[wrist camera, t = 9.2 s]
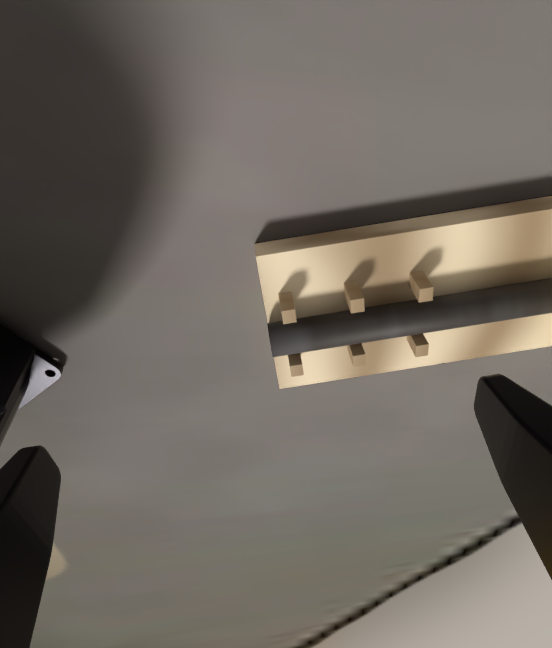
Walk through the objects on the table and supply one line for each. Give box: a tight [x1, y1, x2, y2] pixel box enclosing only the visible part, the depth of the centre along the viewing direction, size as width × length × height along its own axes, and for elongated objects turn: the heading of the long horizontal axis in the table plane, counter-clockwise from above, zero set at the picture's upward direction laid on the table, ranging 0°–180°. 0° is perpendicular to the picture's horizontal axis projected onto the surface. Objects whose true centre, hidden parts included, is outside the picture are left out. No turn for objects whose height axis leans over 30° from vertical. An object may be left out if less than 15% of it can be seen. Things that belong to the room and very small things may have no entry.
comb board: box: [255, 196, 552, 389], centre depth 22 cm, size 22×8×4 cm, turn 98°
